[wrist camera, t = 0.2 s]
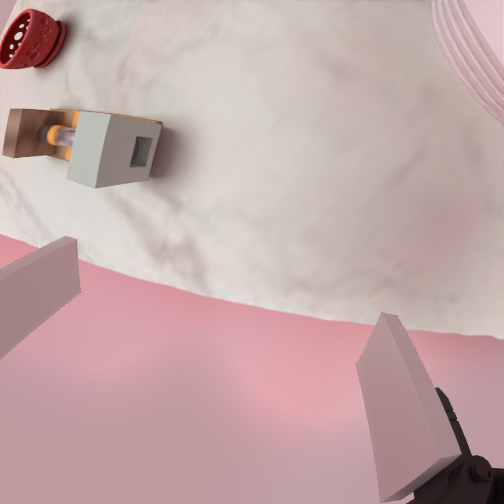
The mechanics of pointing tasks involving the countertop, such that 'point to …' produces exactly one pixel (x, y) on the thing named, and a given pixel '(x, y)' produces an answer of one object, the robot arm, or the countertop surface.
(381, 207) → the countertop surface
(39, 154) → the pipe rig
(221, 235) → the countertop surface
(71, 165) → the sleeve
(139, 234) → the countertop surface
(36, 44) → the plant pot
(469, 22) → the plate stack
